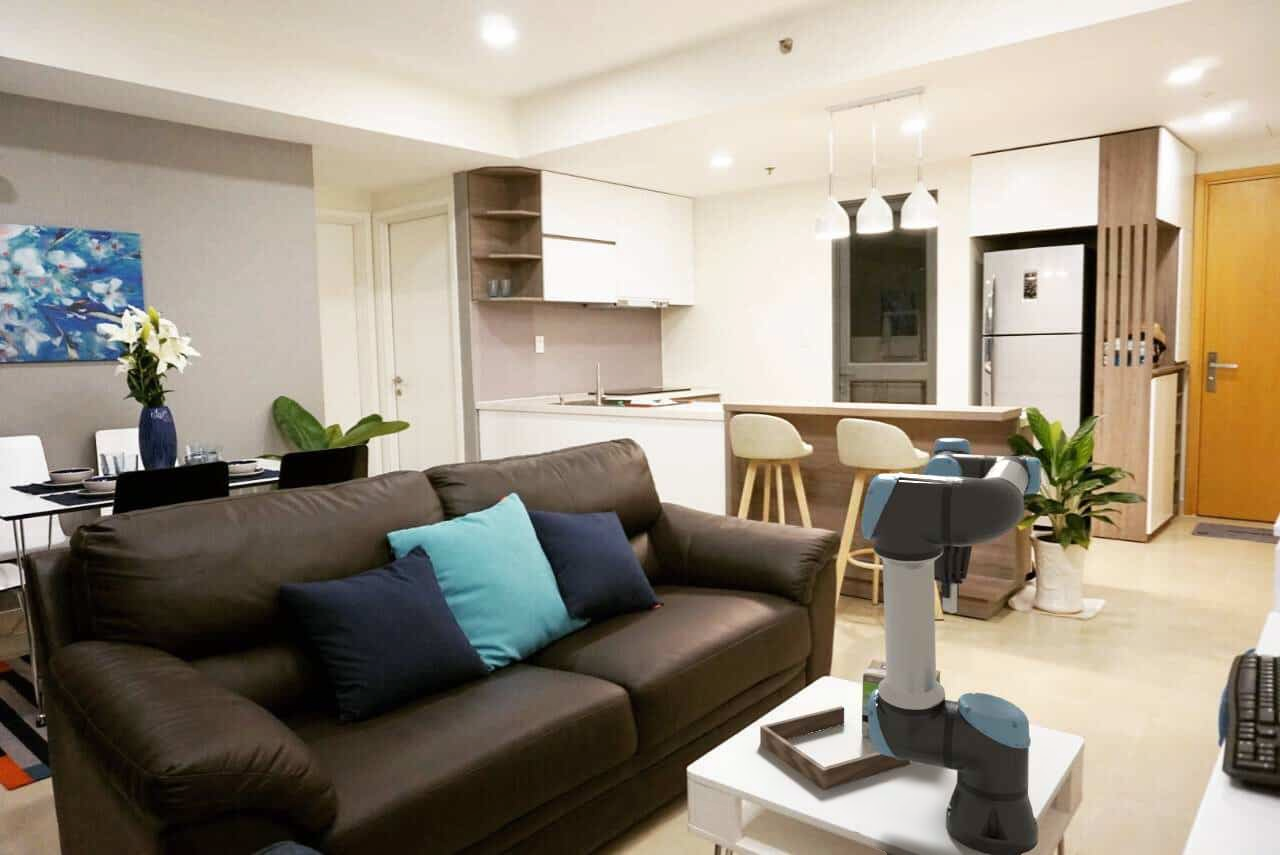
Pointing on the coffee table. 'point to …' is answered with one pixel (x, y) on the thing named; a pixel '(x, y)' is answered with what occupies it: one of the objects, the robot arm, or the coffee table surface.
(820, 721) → the frame
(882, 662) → the tea box
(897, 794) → the coffee table surface
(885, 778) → the coffee table surface
